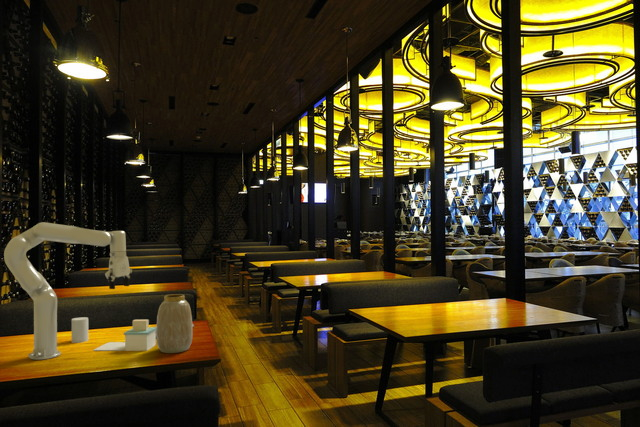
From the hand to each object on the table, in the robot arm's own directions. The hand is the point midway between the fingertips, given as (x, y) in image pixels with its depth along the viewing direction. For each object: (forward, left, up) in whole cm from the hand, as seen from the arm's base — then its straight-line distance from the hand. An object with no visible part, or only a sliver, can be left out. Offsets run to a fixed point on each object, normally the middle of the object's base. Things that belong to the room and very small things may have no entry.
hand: (119, 287), depth 240 cm
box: (-3, -13, -30) cm, 33 cm away
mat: (-1, +1, -30) cm, 30 cm away
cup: (+12, +27, -31) cm, 43 cm away
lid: (-3, -13, -23) cm, 27 cm away
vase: (-7, -32, -31) cm, 45 cm away
